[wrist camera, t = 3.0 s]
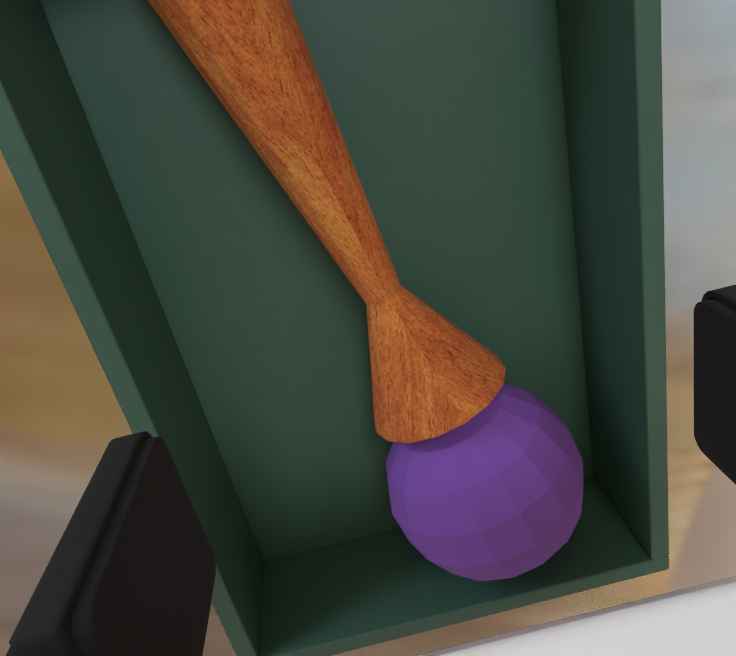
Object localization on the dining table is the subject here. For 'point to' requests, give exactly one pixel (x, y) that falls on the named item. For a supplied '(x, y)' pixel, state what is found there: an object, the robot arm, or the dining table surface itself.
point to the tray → (339, 297)
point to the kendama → (395, 319)
